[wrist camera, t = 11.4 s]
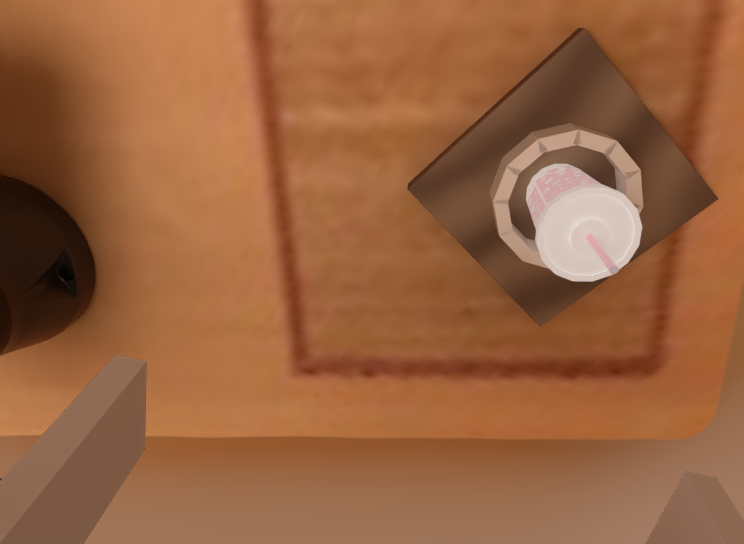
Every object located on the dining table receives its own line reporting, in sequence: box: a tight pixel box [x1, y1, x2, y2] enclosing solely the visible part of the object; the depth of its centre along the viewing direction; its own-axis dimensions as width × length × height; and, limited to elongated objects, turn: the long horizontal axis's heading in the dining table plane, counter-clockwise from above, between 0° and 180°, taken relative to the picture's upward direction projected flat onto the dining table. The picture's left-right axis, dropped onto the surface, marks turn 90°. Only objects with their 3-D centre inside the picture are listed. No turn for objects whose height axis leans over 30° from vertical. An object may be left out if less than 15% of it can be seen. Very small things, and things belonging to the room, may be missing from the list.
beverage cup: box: [526, 164, 642, 282], centre depth 36 cm, size 6×6×14 cm
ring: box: [490, 123, 643, 269], centre depth 41 cm, size 10×10×2 cm
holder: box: [408, 28, 718, 327], centre depth 43 cm, size 16×16×2 cm
